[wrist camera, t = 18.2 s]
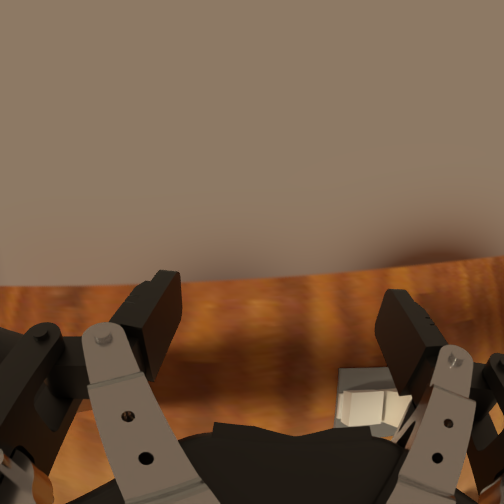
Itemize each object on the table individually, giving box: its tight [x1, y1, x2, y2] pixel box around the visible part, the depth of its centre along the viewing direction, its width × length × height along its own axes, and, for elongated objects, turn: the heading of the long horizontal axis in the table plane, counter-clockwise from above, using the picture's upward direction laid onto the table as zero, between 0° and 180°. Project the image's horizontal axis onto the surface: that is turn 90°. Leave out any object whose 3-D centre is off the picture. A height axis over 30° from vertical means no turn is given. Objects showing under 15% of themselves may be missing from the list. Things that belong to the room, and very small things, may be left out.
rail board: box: [334, 367, 397, 437], centre depth 36 cm, size 18×12×6 cm, turn 85°
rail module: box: [381, 388, 412, 428], centre depth 32 cm, size 5×5×11 cm
